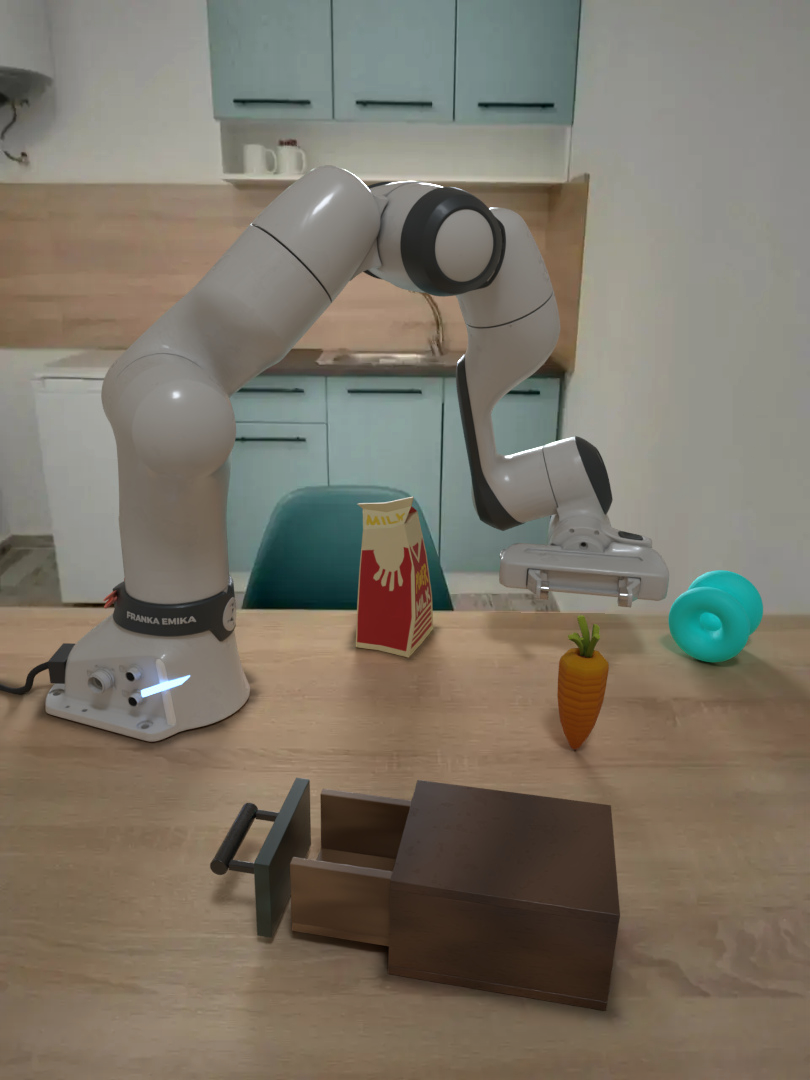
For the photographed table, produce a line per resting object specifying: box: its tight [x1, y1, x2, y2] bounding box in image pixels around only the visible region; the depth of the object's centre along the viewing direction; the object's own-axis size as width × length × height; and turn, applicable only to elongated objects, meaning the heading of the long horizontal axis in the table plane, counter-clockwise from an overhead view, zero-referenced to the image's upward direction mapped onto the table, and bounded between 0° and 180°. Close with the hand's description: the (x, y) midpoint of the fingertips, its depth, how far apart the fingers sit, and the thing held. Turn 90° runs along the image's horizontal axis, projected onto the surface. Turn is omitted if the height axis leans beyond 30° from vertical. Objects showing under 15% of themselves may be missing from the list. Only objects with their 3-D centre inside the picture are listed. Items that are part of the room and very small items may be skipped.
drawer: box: [209, 777, 412, 947], centre depth 65 cm, size 19×10×7 cm, turn 80°
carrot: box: [556, 614, 610, 751], centre depth 85 cm, size 5×5×15 cm
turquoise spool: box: [667, 569, 764, 663], centre depth 108 cm, size 10×10×10 cm
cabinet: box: [387, 779, 621, 1011], centre depth 63 cm, size 16×12×9 cm
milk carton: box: [355, 496, 434, 658], centre depth 107 cm, size 9×9×20 cm
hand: (583, 597), depth 95 cm, fingers open, 8 cm apart
